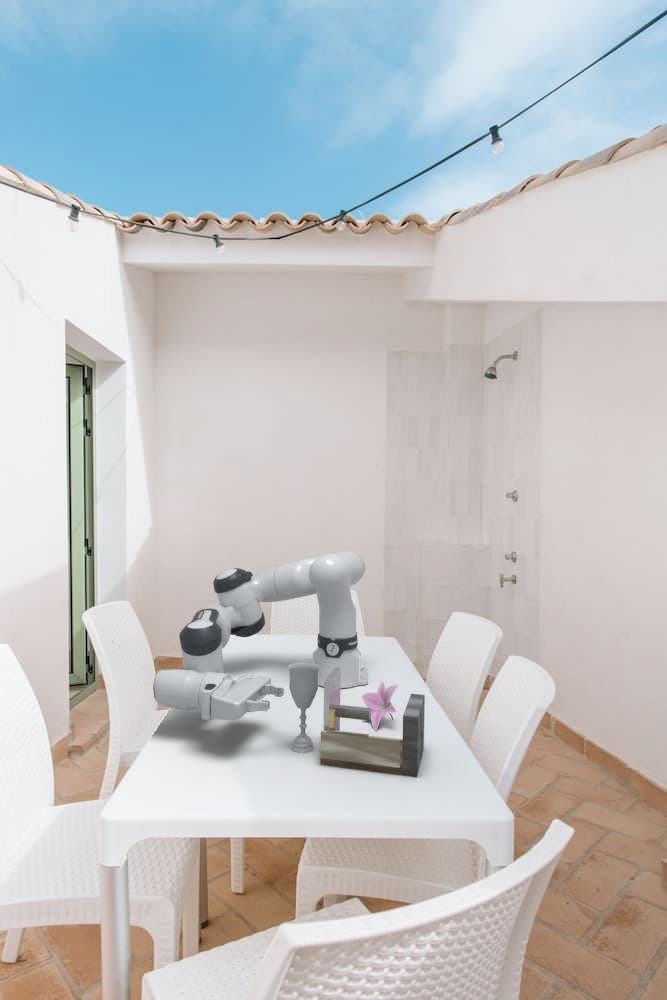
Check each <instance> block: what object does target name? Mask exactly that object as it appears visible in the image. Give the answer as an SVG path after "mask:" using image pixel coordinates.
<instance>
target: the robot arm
mask: <svg viewBox="0 0 667 1000" xmlns="http://www.w3.org/2000/svg"><path fill="white" fill-rule="evenodd" d="M365 572H366V562H365V560H364V557H362V556H361V555H360V554H359V553H357V552H354V551H352V550H341V551H336V552H330V553H326V554H322V555H319V556H318V555H317V556H315V557H310V558H305V559H301V560H298V561H293V562H288V563H283V564H279V565H277V566H273V567H269V568H267V569H265V570H262V571H260V572H258V573H256V574H255V575H254V573H252V572H251V571H246V570H245V569H242V568H238V567H233V568H228V569H225V570H223V571H221V572H220V573H219V574H217V575H216V576H215V577H214V579H213V582H212V584H213V589H214V592H215V593H216V596H217V599H218V603H217V602H216V603H215V602H213V603H208V604H207V605H206V604H205V606H203V607H202V608H201V609H200V610H198V611H197V612H196V613H194V616H193V617H192V619H191V621H190V622H189V623H187V624H186V625H185V626H184V627H183V628H182V630H180V632H179V636H178V637H179V638H178V639H179V642H180V643H179V644H180V648H181V657H182V668H180V669H179V668H178V669H176V668H175V669H162V670H159V671H158V672H156V675H155V677H154V679H153V680H154V681H153V685H152V687H153V688H152V689H153V690H152V691H153V697H154V700H155V702H156V703H157V704H158V705H161V706H163V707H167V708H171V709H177V710H185V711H188V710H197V711H200V713H201V715H200V716H201V720H204V721H211V720H218V721H219V720H220V721H237V720H240V719H242V718H243V717H244V716H245V715H246V714H247V713H254V712H268V710H270V708H271V702H270V701H269V700H263V699H264V698H266V696H267V695H268V696H269V695H273V696H274V697H277V698H278V697H279V698H281V697H283V696H284V695H285V688H284V687H280V686H276V685H274V684H272V679H271V677H269V676H267V675H242V676H240V677H237V679H233V676H232V675H231V674H230V673H225V668H224V658H223V657H224V656H223V650H224V648H225V647H226V646H227V644H228V642H229V640H230V638H231V636H235V637H239V638H249V637H252V636H254V635H256V634H258V633H259V632H260V631H262V630H263V628H264V626H265V624H266V618H265V614H264V612H263V610H262V607H261V604H260V602H261V603H275V602H276V603H277V602H284V601H288V600H293V599H294V600H295V599H297V598H303V597H308V596H312V595H315V594H316V596H317V603H318V611H319V612H318V613H319V615H318V616H319V618H318V619H319V621H318V622H319V623H318V625H319V626H318V627H319V632H318V634H317V648H316V649H315V650H314V651H313V652H312V658H311V659H312V660H311V661H312V662H311V663H314V664H318V665H320V669H319V671H318V686H320V687H323V688H324V680H325V679H326V678H327V677H328V675H329V674H330V673H331V672H332V671H333V670H334V669H335V667H338V668H341V683H340V689H346V688H347V689H349V688H352V687H357V686H365V685H368V683H369V681H368V680H369V677H368V675H369V670H368V667H367V666H364V665H361V664H362V663H361V662H362V654H361V652H360V650H359V648H358V645H359V643H358V642H359V639H358V632H357V609H356V608H357V607H356V606H355V605H354V603H353V598H352V593H351V586H354V585H355V584H357V583H358V582H359V581H360V580H362V578H363V576H364V575H365V574H366V573H365Z"/></svg>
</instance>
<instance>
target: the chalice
mask: <svg viewBox="0 0 667 1000" xmlns="http://www.w3.org/2000/svg"><path fill="white" fill-rule="evenodd" d="M287 669H288V670H289V691H290V694H291V697H292V700H293V702H294V704H295V706H296V707H297V708H298V709H300V716H299V719H300V724H299V725H298V727H299V728H300V733H299V735H297V736H296V737H295V738H294V740H293V743H292V745H291V747H290V748H291V750H292V751H293V752H296V753H302V754H303V753H304V754H305V753H309V752H313V751H314V749H315V746H314V743H313V741H312V739H311V737H310V736H309V735H308V734H307V733H306V728H307V727H308V725H307V724H306V720H307V719H308V717H307V714H306V710H307V709H309V708H311V705H312V703H313V701H314V700H315V697H316V695H317V692H318V689H319V687H318V686H319V685H318V671H319V669H320V665H318V664H314V663H312V662H305V661H304V662H294V663H291V664H289V665H287Z"/></svg>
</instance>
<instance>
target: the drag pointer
mask: <svg viewBox="0 0 667 1000" xmlns="http://www.w3.org/2000/svg"><path fill="white" fill-rule="evenodd" d="M328 730H335V731H336V710H335V709H330V710H329V729H328Z"/></svg>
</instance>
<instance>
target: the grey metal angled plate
mask: <svg viewBox="0 0 667 1000" xmlns="http://www.w3.org/2000/svg"><path fill="white" fill-rule="evenodd" d="M340 683H341V668H338V667H335V669H334V670H333V671H332V672H331V673H330V674H329V675H328V677H327V678H326V679H325V680H324V687H323V730H322V731H328V729H329V710H330V709H335V710H336V731H341V718H342V719H350V720H351V719H352V720H361V721H362V720H365V721H368V722H369V721H370V720H371V708H368V707H365V706H364V707H363V706H356V705H355V706H354V705H345V704H341V688H340Z"/></svg>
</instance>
